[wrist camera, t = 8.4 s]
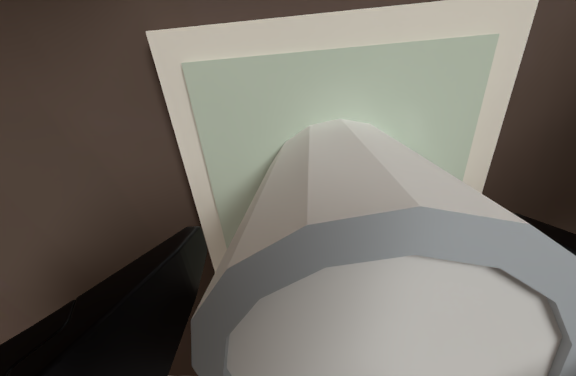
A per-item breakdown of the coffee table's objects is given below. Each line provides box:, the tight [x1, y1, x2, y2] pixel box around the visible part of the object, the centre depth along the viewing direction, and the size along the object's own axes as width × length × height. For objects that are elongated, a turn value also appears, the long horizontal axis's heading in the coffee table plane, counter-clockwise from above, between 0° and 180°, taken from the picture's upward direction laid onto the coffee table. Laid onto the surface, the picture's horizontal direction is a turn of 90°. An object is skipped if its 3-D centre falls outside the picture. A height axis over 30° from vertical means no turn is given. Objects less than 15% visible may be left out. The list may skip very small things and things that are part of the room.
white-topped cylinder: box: [191, 119, 576, 376], centre depth 8 cm, size 7×7×7 cm
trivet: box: [146, 0, 539, 272], centre depth 11 cm, size 12×12×1 cm
